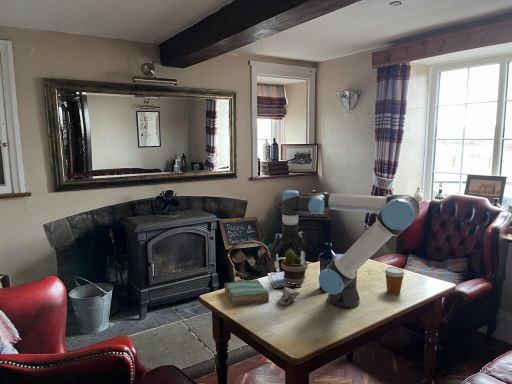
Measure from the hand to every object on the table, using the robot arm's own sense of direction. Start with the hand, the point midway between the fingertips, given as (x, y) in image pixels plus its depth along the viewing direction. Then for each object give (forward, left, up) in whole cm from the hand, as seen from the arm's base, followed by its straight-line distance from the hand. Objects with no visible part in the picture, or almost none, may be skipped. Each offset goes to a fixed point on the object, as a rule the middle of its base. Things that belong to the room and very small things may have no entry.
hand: (289, 266), depth 182 cm
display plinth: (+11, +19, -18) cm, 28 cm away
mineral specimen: (-1, 0, -18) cm, 18 cm away
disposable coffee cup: (-6, -55, -18) cm, 58 cm away
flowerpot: (+23, -12, -18) cm, 32 cm away
